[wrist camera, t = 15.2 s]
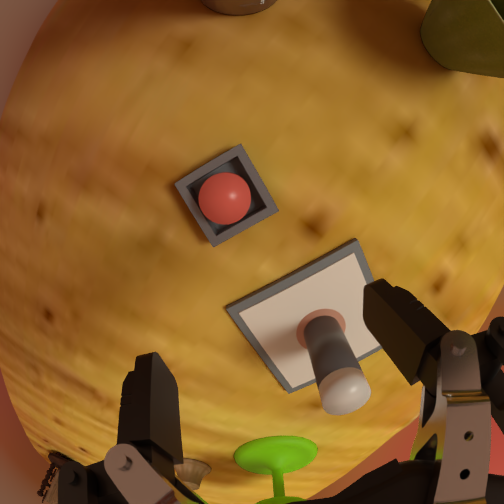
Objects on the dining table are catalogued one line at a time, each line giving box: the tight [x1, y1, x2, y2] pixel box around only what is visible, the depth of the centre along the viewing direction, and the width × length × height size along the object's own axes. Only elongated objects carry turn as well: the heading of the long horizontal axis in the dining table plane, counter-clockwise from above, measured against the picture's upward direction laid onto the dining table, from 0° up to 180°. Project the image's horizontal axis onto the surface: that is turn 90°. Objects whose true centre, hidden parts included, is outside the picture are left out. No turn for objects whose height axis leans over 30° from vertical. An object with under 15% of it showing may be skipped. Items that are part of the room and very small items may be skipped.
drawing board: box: [226, 238, 382, 393], centre depth 31 cm, size 16×16×1 cm
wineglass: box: [234, 436, 318, 504], centre depth 33 cm, size 16×16×18 cm
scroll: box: [37, 452, 69, 504], centre depth 39 cm, size 15×15×20 cm
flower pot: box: [420, 0, 504, 78], centre depth 13 cm, size 15×15×16 cm
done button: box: [199, 172, 251, 225], centre depth 24 cm, size 4×4×2 cm
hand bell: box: [174, 458, 211, 490], centre depth 35 cm, size 8×8×16 cm
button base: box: [175, 144, 279, 247], centre depth 26 cm, size 7×7×2 cm
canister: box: [304, 316, 371, 415], centre depth 25 cm, size 4×4×11 cm
